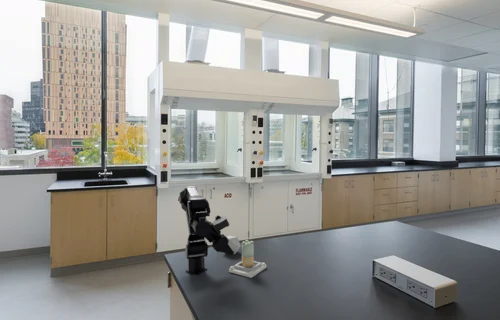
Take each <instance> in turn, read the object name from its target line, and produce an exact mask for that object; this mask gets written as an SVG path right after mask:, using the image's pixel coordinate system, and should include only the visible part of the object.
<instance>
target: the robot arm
mask: <svg viewBox="0 0 500 320" xmlns="http://www.w3.org/2000/svg"><path fill="white" fill-rule="evenodd" d="M178 202H179V204H180V205H181V209H182V210H183V211H184V212H185V216H186V223H187V228H188V237H187V242H186V245H185V251H184V255H185V258H186V259H187V260H188V266H187V267H188V268H187V269H185V272H187V273H190V274H194V275H199V274H201V273H203V272H205V271H206V270H208V268H207V267H205V258H207V257H208V255H209V254H208V252H209V251H208V250H209V244H208V243H210V244H211V246H212V248H213V250H215V251H216V252H217V253H223V254H227V255H232V256H233V255H235V254H234V252H233V250H232V249H231V248H230V246H229V245H228V242H229V239H228V238H227V236H226V235H224V234H221V233H222V231H221V230H223V229H225V228H228V227H229V226H230V222H229V221H228V220H229V219H228V218H227V217H226V216H224V215H222V216H220V215H219V214H218V215H216V216H215V218H214V219H215V220H214V221H213V222H212V221H209V220H208V219H207V217H210V214H211V208H210V203H209V201H208V199H207V198H206V197H205V196H204V195H200V194H199V191H198V190H197V186H194V185H193V186H191V185H190V186H186V187H184V189H183V190H182V191H181V192H179V197H178ZM206 240H207V241H208V242H207V241H206Z"/></svg>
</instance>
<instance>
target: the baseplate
mask: <svg viewBox="0 0 500 320" xmlns="http://www.w3.org/2000/svg"><path fill="white" fill-rule="evenodd" d="M266 268H267V264H266V263H265V262H260V261H256V260H254V266H253V267H252V268H247V267H242V260H241V261H239V262H237V263H236V264H234V265H231V266H230V267H229V269H228V272H229V273H232V274H236V275H239V276H242V277H246V278H250V279H252V278H253V277H255V276H256V275H257V274H259V273H261V272H262V271H263V270H265V269H266Z"/></svg>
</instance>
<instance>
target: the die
mask: <svg viewBox="0 0 500 320" xmlns="http://www.w3.org/2000/svg"><path fill="white" fill-rule="evenodd" d="M226 237H227V238H228V239H229V242H228V245H229V246H230V248H231V249H232V250H233V252H234V254H233V255H236V254H237V252H238V251H239V249H240V248H242V244H241V242H240V240H239V238H238V236H234V235H233V236H232V235H227V236H226Z"/></svg>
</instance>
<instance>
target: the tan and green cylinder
mask: <svg viewBox="0 0 500 320" xmlns="http://www.w3.org/2000/svg"><path fill="white" fill-rule="evenodd" d="M254 247H255V245H254V241H253V240H249V239H245V241H242V242H241V261H242V267H247V268H252V267H253V266H254V261H255V258H254V255H255V254H254V252H255V250H254V249H255V248H254Z"/></svg>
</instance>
